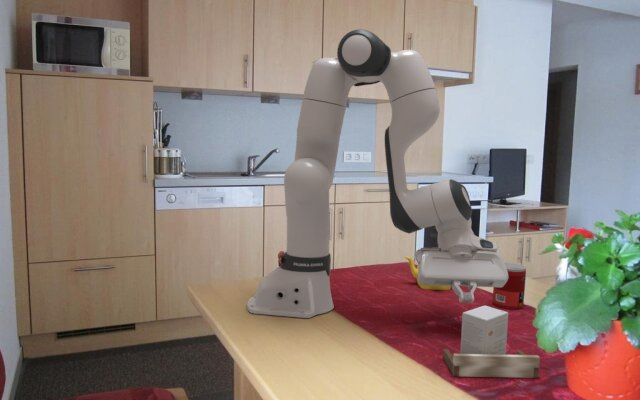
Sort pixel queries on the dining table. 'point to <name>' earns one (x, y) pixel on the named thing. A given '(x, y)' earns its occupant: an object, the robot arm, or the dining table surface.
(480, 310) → the small box
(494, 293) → the canned food
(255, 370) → the dining table surface
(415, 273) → the teapot
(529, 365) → the bay
